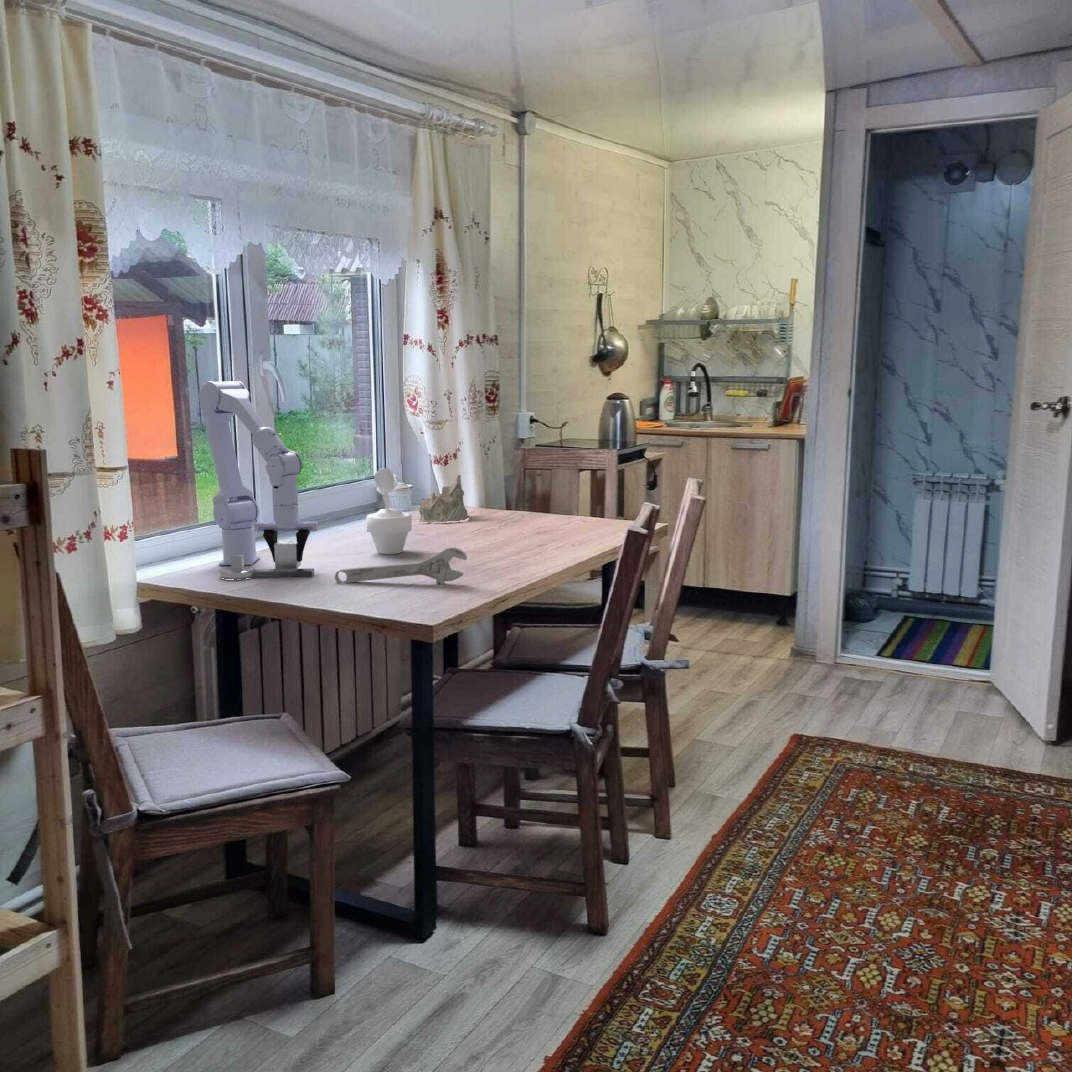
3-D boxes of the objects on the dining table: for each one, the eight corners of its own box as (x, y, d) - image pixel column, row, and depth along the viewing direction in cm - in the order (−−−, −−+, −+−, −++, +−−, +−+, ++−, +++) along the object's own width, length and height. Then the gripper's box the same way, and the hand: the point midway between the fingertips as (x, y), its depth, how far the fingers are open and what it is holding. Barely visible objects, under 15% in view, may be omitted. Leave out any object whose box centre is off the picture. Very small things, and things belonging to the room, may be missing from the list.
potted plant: (404, 557, 254) (402, 458, 250) (360, 555, 257) (357, 457, 253) (420, 548, 267) (418, 453, 262) (378, 547, 269) (375, 453, 265)
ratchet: (225, 573, 236) (224, 552, 235) (316, 572, 236) (315, 551, 236) (216, 581, 228) (214, 559, 227) (310, 579, 229) (309, 558, 228)
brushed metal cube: (279, 565, 241) (278, 540, 240) (300, 565, 242) (299, 540, 241) (275, 569, 236) (274, 544, 235) (296, 569, 237) (295, 543, 236)
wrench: (339, 594, 227) (470, 581, 224) (337, 595, 226) (468, 583, 222) (334, 559, 226) (465, 545, 223) (331, 560, 224) (464, 547, 221)
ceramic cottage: (469, 515, 325) (465, 469, 322) (470, 525, 309) (466, 476, 306) (420, 519, 324) (416, 472, 321) (418, 529, 308) (414, 480, 305)
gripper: (250, 506, 232) (252, 564, 234) (313, 506, 233) (316, 564, 235) (257, 502, 239) (259, 558, 241) (318, 502, 240) (321, 558, 242)
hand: (287, 561), depth 239 cm, fingers closed on brushed metal cube, 5 cm apart
